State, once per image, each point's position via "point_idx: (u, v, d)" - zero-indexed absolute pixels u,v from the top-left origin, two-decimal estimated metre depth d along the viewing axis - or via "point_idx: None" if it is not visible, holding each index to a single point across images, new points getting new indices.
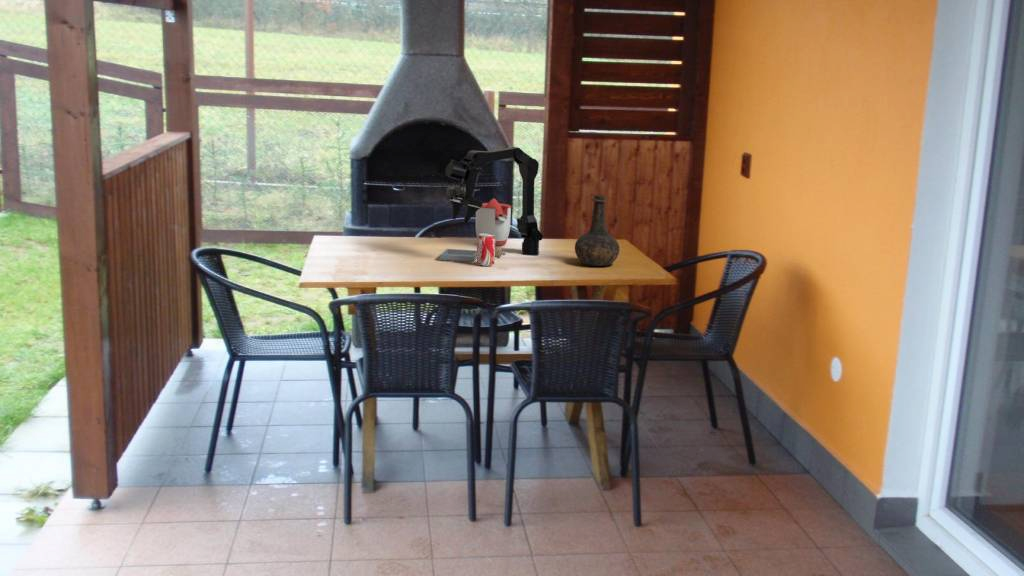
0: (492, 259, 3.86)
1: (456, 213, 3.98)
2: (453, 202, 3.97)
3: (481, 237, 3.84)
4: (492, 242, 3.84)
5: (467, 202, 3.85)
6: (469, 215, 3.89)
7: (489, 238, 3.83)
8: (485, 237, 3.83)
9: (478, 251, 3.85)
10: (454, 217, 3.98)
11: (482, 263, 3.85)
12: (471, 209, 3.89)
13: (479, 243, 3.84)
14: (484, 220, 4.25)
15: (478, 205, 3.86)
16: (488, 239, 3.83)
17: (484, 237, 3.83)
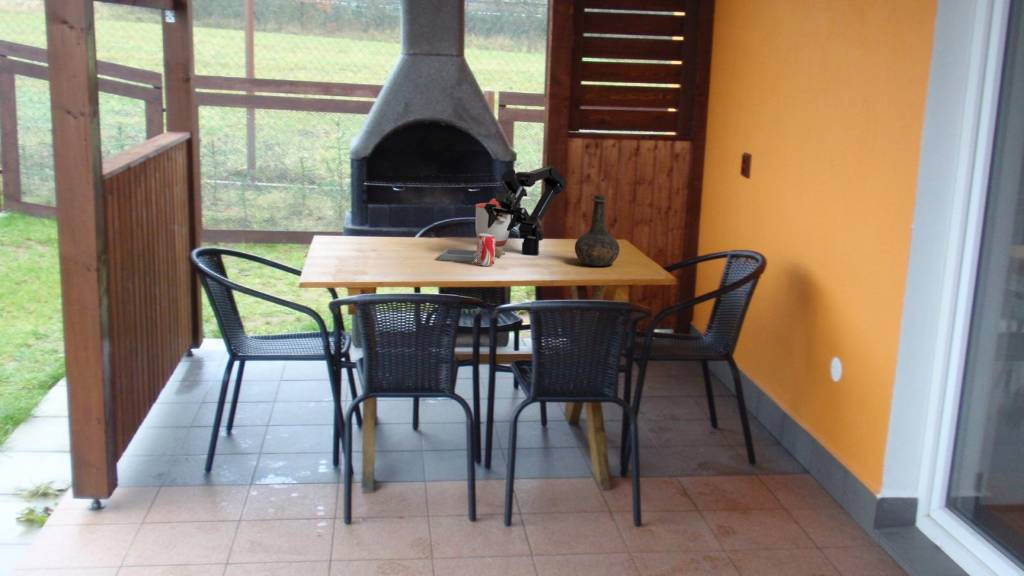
0: (492, 259, 3.86)
1: (491, 223, 3.96)
2: (492, 211, 3.96)
3: (481, 237, 3.84)
4: (492, 242, 3.84)
5: (519, 210, 3.89)
6: (513, 224, 3.91)
7: (489, 238, 3.83)
8: (485, 237, 3.83)
9: (478, 251, 3.85)
10: (489, 226, 3.95)
11: (482, 263, 3.85)
12: (516, 220, 3.92)
13: (479, 243, 3.84)
14: (484, 220, 4.25)
15: (526, 217, 3.91)
16: (488, 239, 3.83)
17: (484, 237, 3.83)
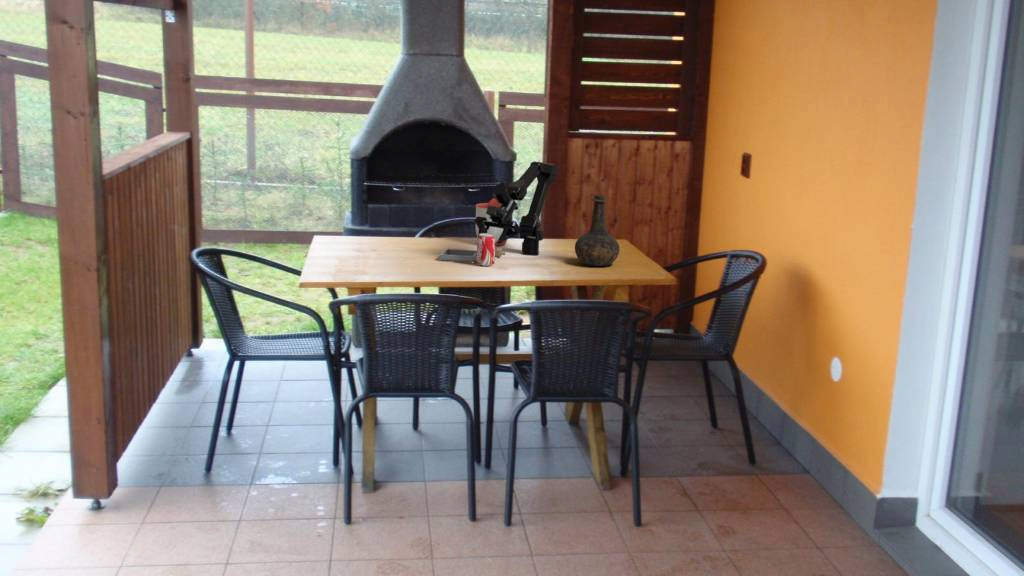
0: (492, 259, 3.86)
1: None
2: (482, 225, 3.92)
3: (481, 237, 3.84)
4: (492, 242, 3.84)
5: (510, 223, 3.85)
6: (504, 238, 3.86)
7: (489, 238, 3.83)
8: (485, 237, 3.83)
9: (478, 251, 3.85)
10: None
11: (482, 263, 3.85)
12: (507, 233, 3.87)
13: (479, 243, 3.84)
14: None
15: (517, 231, 3.87)
16: (488, 239, 3.83)
17: (484, 237, 3.83)
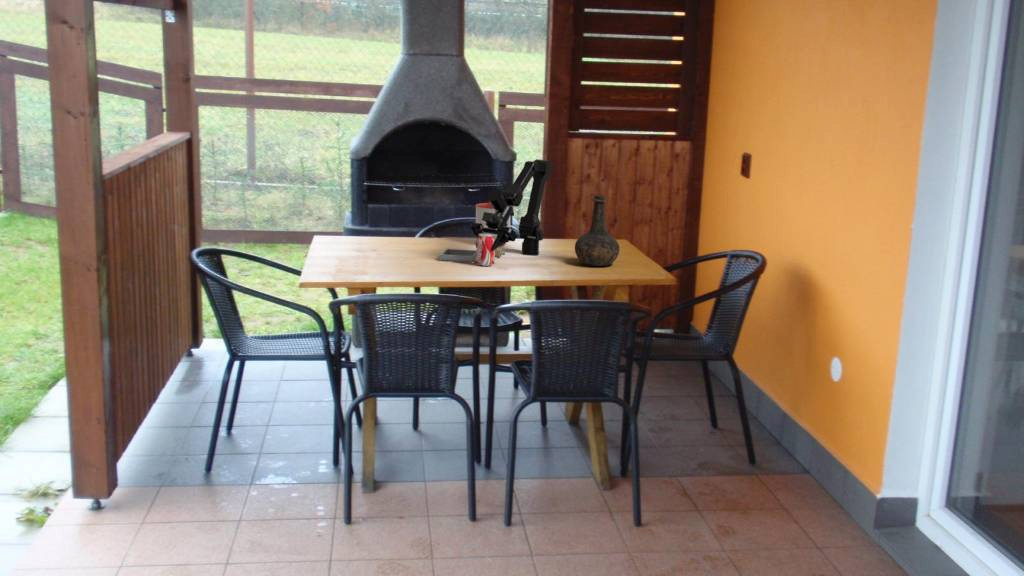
0: (492, 259, 3.86)
1: None
2: (480, 231, 3.89)
3: (481, 237, 3.84)
4: (492, 242, 3.84)
5: (506, 230, 3.83)
6: (498, 244, 3.85)
7: (489, 238, 3.83)
8: (485, 237, 3.83)
9: (478, 251, 3.85)
10: None
11: (482, 263, 3.85)
12: (500, 239, 3.86)
13: (479, 243, 3.84)
14: None
15: (513, 237, 3.85)
16: (488, 239, 3.83)
17: (484, 237, 3.83)
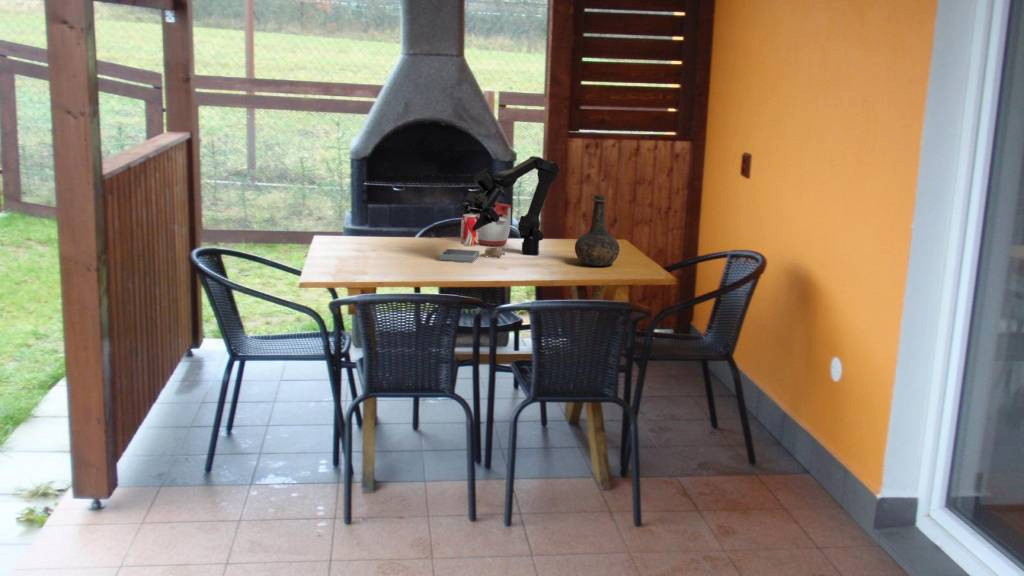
0: (474, 239, 3.89)
1: None
2: (467, 211, 3.94)
3: (464, 217, 3.88)
4: (474, 223, 3.88)
5: (487, 210, 3.85)
6: (480, 224, 3.88)
7: (471, 218, 3.87)
8: (467, 217, 3.87)
9: (461, 231, 3.90)
10: None
11: (464, 243, 3.90)
12: (484, 220, 3.89)
13: (462, 223, 3.89)
14: None
15: (495, 218, 3.86)
16: (470, 219, 3.87)
17: (466, 217, 3.87)
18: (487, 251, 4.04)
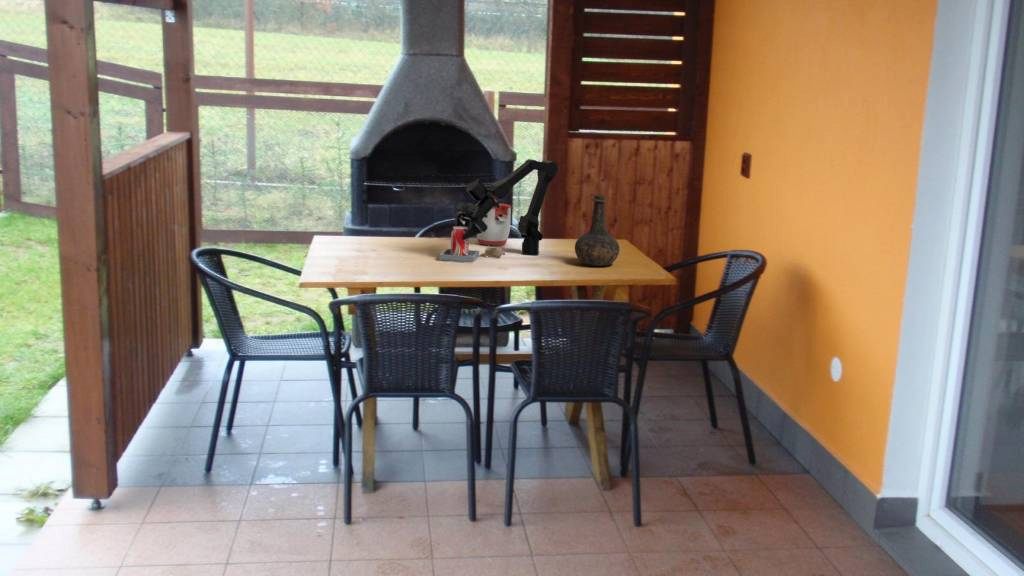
0: (462, 251, 3.95)
1: None
2: (458, 220, 4.01)
3: (453, 229, 3.95)
4: None
5: (474, 220, 3.90)
6: (469, 234, 3.92)
7: (459, 231, 3.94)
8: (456, 229, 3.94)
9: (451, 243, 3.97)
10: None
11: (453, 254, 3.96)
12: (474, 230, 3.93)
13: (451, 235, 3.96)
14: (484, 220, 4.25)
15: (482, 228, 3.90)
16: (458, 231, 3.94)
17: (455, 229, 3.94)
18: (487, 251, 4.04)
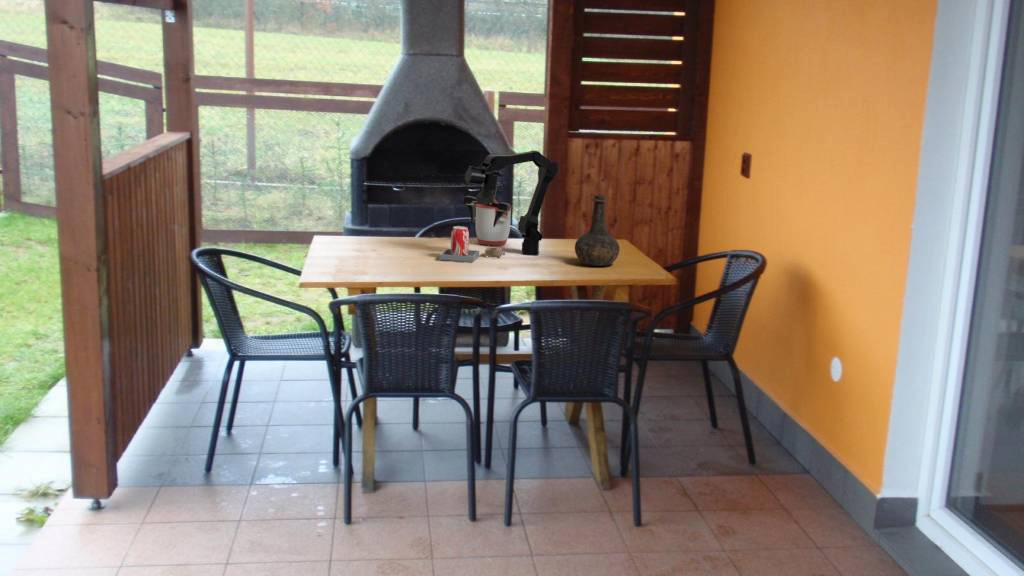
0: (462, 251, 3.95)
1: (473, 216, 4.04)
2: (472, 206, 4.01)
3: (453, 229, 3.95)
4: (463, 235, 3.94)
5: (502, 209, 3.97)
6: (498, 219, 4.01)
7: (459, 231, 3.94)
8: (456, 229, 3.94)
9: (451, 243, 3.97)
10: (473, 220, 4.04)
11: (453, 254, 3.96)
12: (499, 213, 4.01)
13: (451, 235, 3.96)
14: (484, 220, 4.25)
15: (509, 209, 4.01)
16: (458, 231, 3.94)
17: (455, 229, 3.94)
18: (487, 251, 4.04)
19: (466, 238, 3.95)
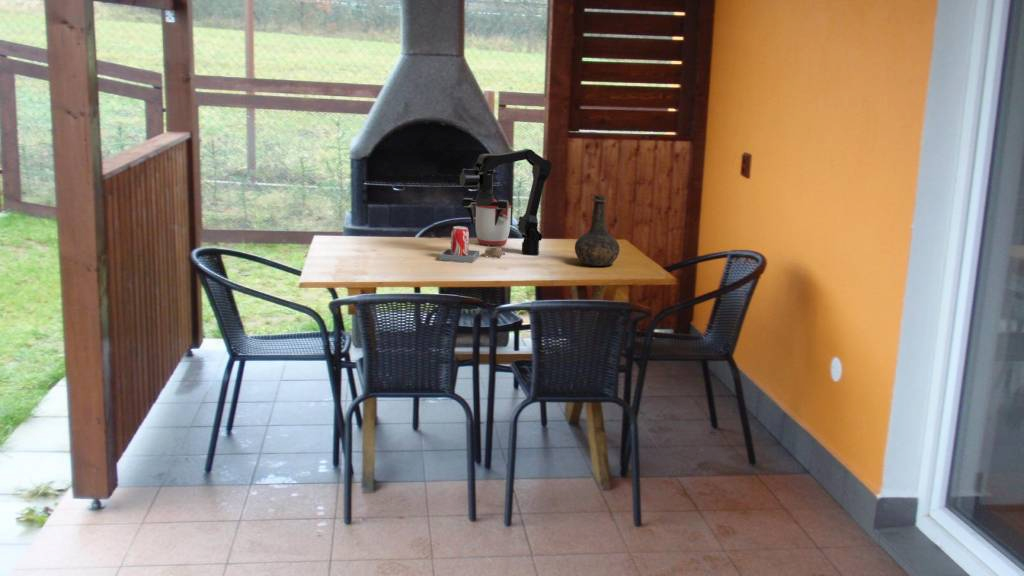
0: (462, 251, 3.95)
1: (473, 217, 4.04)
2: (471, 208, 4.01)
3: (453, 229, 3.95)
4: (463, 235, 3.94)
5: (502, 207, 3.98)
6: (498, 217, 4.02)
7: (459, 231, 3.94)
8: (456, 229, 3.94)
9: (451, 243, 3.97)
10: (473, 221, 4.04)
11: (453, 254, 3.96)
12: None
13: (451, 235, 3.96)
14: (484, 220, 4.25)
15: (508, 206, 4.01)
16: (458, 231, 3.94)
17: (455, 229, 3.94)
18: (487, 251, 4.04)
19: (466, 238, 3.95)
